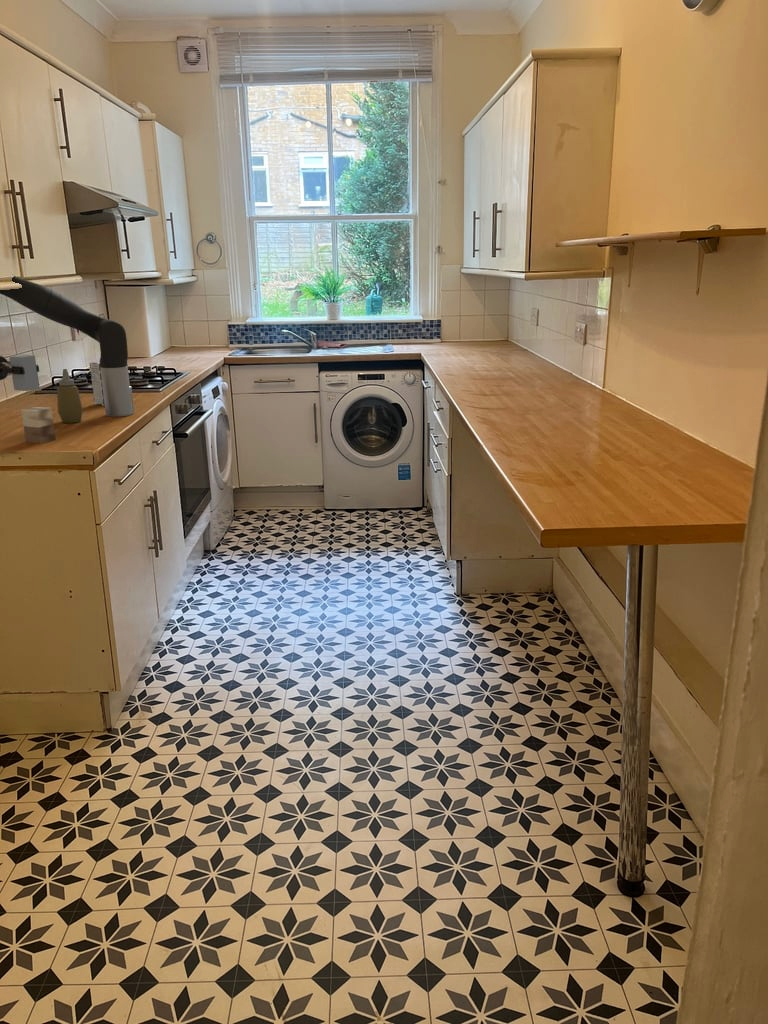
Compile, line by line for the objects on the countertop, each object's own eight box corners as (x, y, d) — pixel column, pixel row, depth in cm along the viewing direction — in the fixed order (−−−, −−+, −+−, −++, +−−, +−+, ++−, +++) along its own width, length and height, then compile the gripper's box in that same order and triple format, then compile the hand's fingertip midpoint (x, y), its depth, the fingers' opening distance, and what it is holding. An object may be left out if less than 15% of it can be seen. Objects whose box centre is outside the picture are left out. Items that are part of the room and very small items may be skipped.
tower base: (41, 438, 242) (38, 422, 240) (55, 439, 240) (53, 423, 238) (25, 442, 237) (23, 426, 235) (40, 443, 234) (38, 427, 233)
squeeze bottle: (55, 421, 267) (48, 369, 261) (78, 418, 272) (71, 367, 266) (65, 424, 261) (58, 371, 256) (88, 421, 267) (81, 369, 261)
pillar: (27, 387, 237) (22, 354, 234) (39, 388, 236) (34, 355, 232) (14, 390, 233) (9, 356, 230) (26, 391, 231) (21, 357, 228)
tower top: (38, 422, 240) (36, 406, 239) (53, 423, 238) (51, 407, 237) (23, 426, 235) (20, 409, 234) (38, 427, 233) (35, 411, 231)
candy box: (122, 399, 309) (117, 358, 304) (132, 400, 306) (127, 358, 301) (93, 404, 298) (88, 361, 293) (104, 406, 295) (98, 362, 290)
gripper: (-33, 357, 230) (9, 359, 224) (5, 352, 243) (47, 354, 236) (-29, 382, 232) (13, 385, 226) (9, 376, 245) (50, 378, 239)
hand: (30, 369), depth 231 cm, fingers closed on pillar, 5 cm apart
